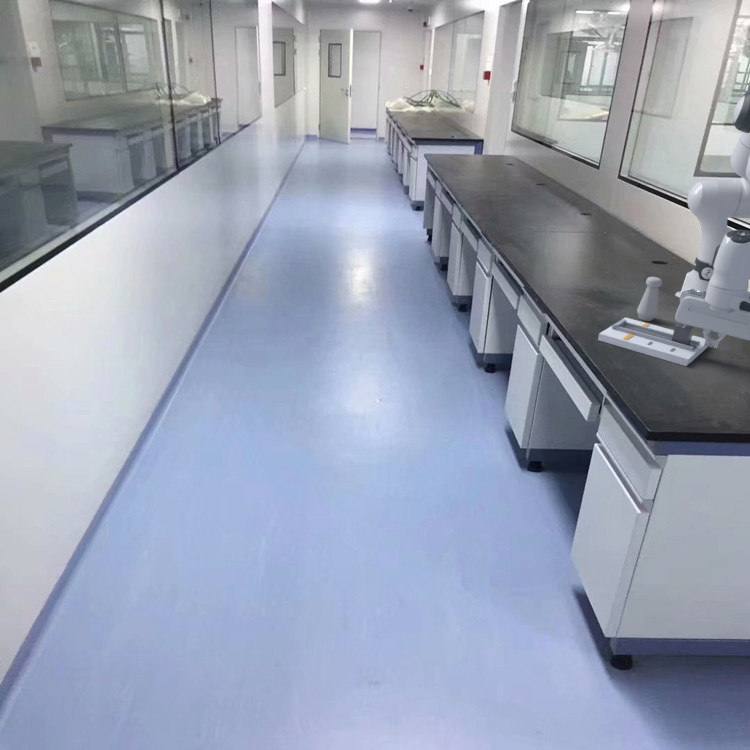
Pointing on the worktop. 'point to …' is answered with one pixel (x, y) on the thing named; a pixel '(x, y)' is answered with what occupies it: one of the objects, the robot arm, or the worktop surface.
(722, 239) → the robot arm
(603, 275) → the worktop surface
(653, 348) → the console
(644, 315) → the salt shaker
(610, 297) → the worktop surface
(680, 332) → the fader tab
